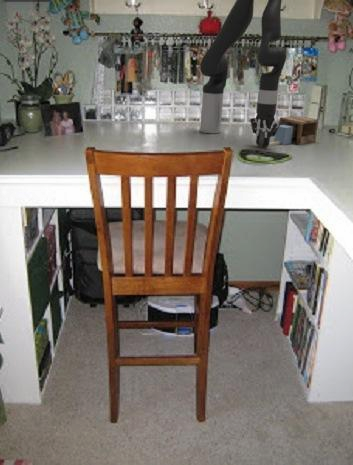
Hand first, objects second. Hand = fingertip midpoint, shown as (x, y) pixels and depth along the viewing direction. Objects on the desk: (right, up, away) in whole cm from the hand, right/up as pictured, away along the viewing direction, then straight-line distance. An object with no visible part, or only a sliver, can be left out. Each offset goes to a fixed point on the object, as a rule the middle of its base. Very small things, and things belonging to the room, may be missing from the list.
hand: (262, 145), depth 189 cm
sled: (+5, +1, +5) cm, 7 cm away
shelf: (+17, +5, +13) cm, 22 cm away
